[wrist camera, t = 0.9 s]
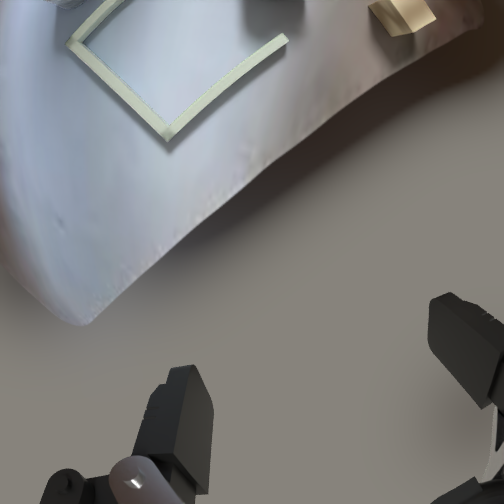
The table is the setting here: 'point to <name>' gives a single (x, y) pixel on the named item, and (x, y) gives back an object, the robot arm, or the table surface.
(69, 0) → the grey metal tin
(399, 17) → the maple block
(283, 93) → the table surface
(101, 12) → the pale green frame
